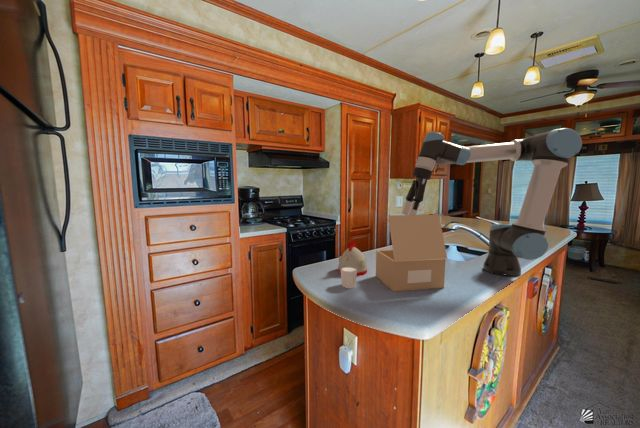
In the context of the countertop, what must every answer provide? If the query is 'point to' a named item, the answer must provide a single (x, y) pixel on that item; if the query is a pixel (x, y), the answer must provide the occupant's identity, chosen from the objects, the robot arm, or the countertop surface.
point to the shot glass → (348, 277)
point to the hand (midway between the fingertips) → (407, 215)
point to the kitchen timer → (353, 259)
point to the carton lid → (417, 237)
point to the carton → (409, 272)
